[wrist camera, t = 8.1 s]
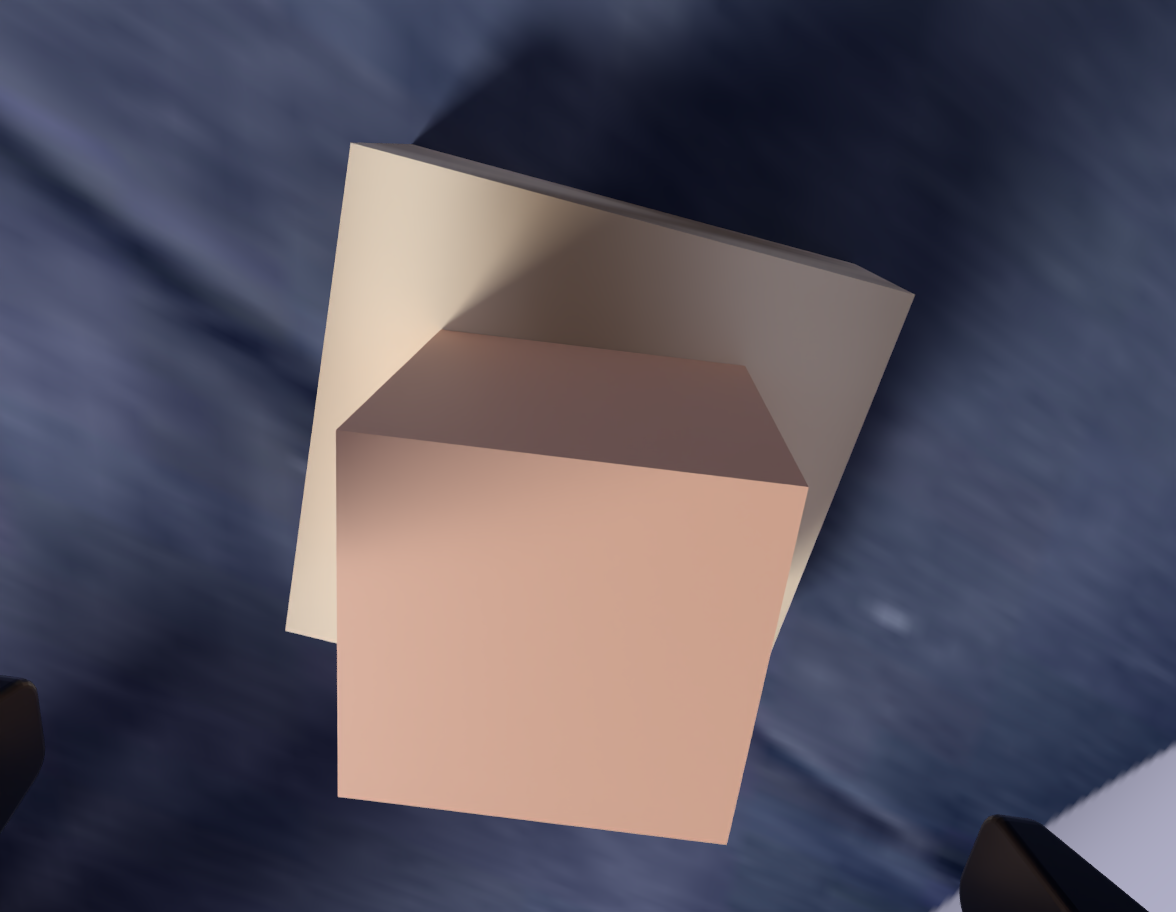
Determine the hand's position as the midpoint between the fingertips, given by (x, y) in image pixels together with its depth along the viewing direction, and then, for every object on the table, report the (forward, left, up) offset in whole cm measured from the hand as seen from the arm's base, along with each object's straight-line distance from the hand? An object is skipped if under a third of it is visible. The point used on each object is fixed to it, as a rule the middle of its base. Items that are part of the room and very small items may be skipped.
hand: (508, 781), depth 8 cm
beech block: (0, 0, -11) cm, 11 cm away
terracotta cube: (0, 0, -7) cm, 7 cm away
